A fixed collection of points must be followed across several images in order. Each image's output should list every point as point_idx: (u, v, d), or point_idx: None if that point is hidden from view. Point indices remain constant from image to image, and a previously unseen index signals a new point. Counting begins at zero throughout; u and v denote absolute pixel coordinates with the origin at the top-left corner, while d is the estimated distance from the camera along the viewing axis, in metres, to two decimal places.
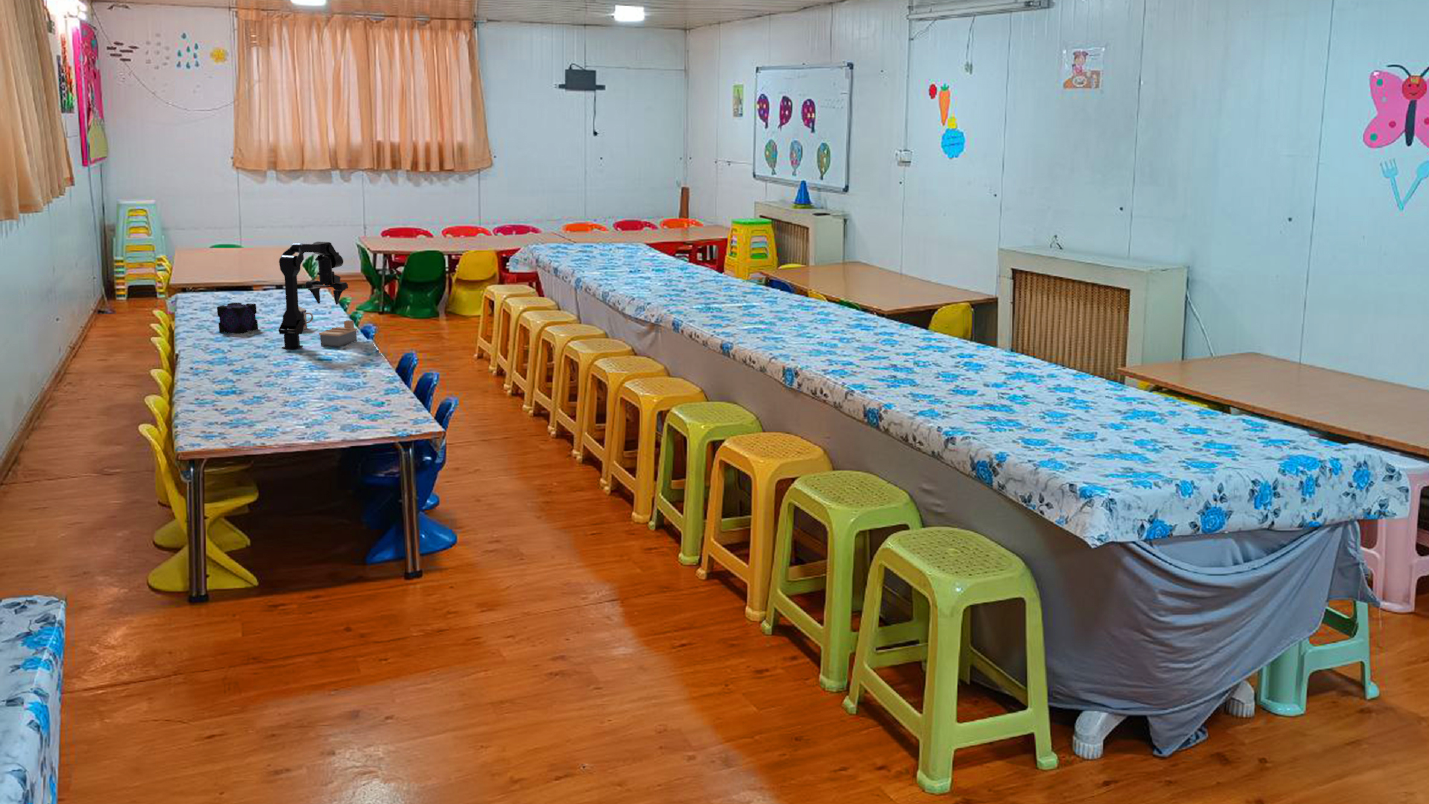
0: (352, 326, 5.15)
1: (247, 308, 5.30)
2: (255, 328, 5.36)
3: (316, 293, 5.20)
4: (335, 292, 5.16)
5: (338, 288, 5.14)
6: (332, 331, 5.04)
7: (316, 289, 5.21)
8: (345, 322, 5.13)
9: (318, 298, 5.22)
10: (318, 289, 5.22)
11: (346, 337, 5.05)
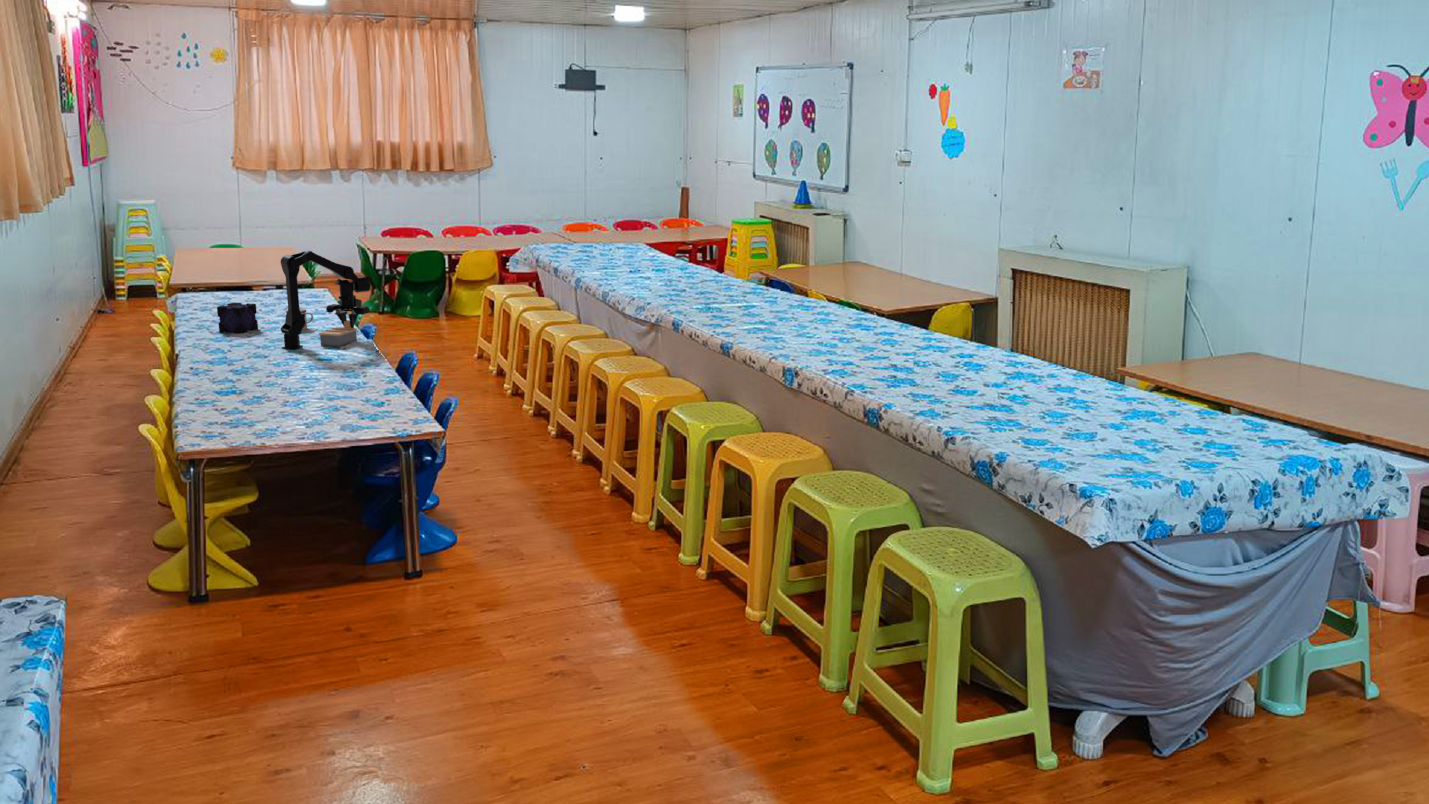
0: None
1: (247, 308, 5.30)
2: (255, 328, 5.36)
3: (343, 318, 5.13)
4: (350, 316, 5.10)
5: (360, 312, 5.08)
6: (332, 331, 5.04)
7: (343, 313, 5.13)
8: (345, 322, 5.13)
9: None
10: (345, 313, 5.15)
11: (346, 337, 5.05)
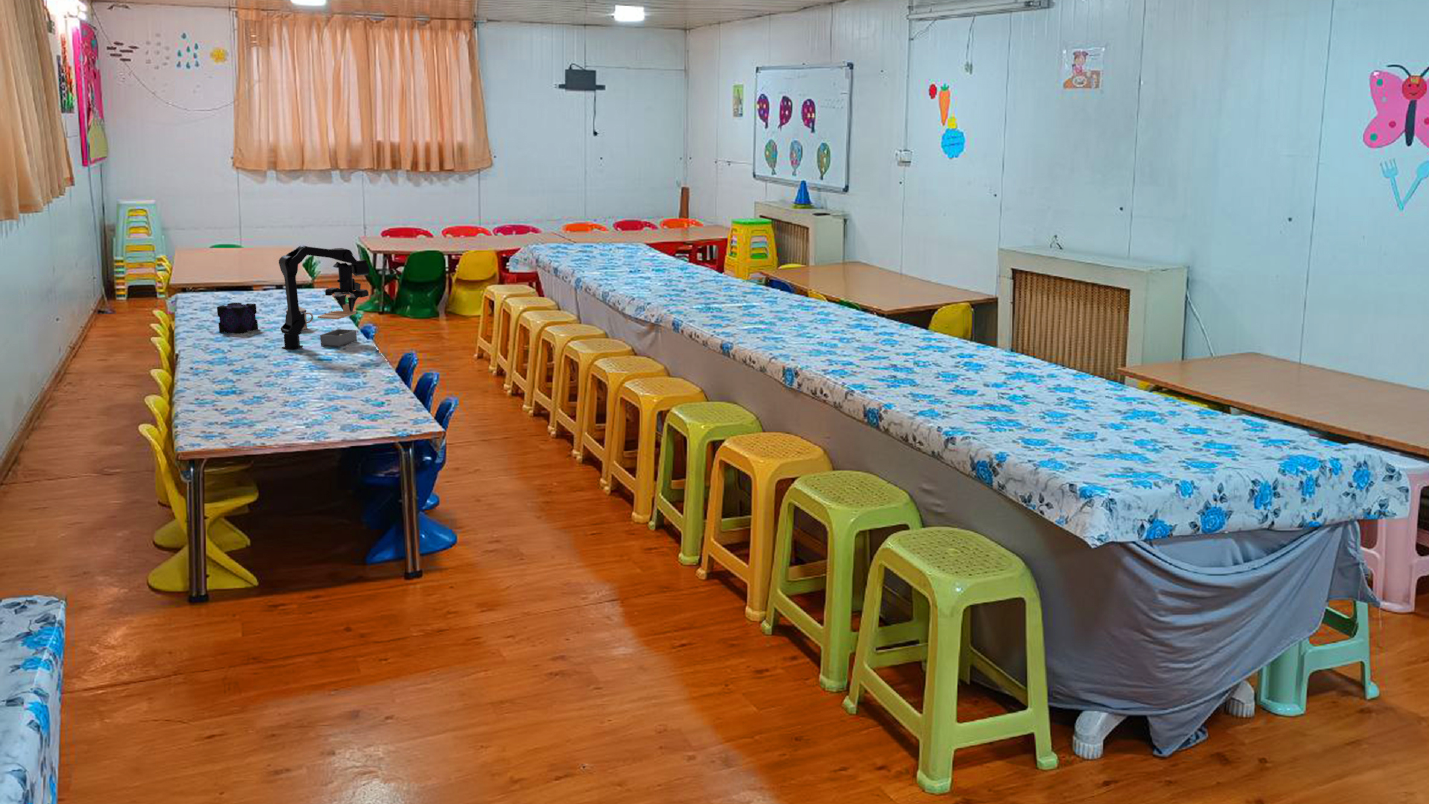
0: None
1: (247, 308, 5.30)
2: (255, 328, 5.36)
3: (342, 301, 5.11)
4: (349, 300, 5.08)
5: (359, 296, 5.06)
6: (331, 314, 5.03)
7: (342, 297, 5.12)
8: (344, 305, 5.11)
9: None
10: (344, 297, 5.13)
11: (346, 337, 5.05)
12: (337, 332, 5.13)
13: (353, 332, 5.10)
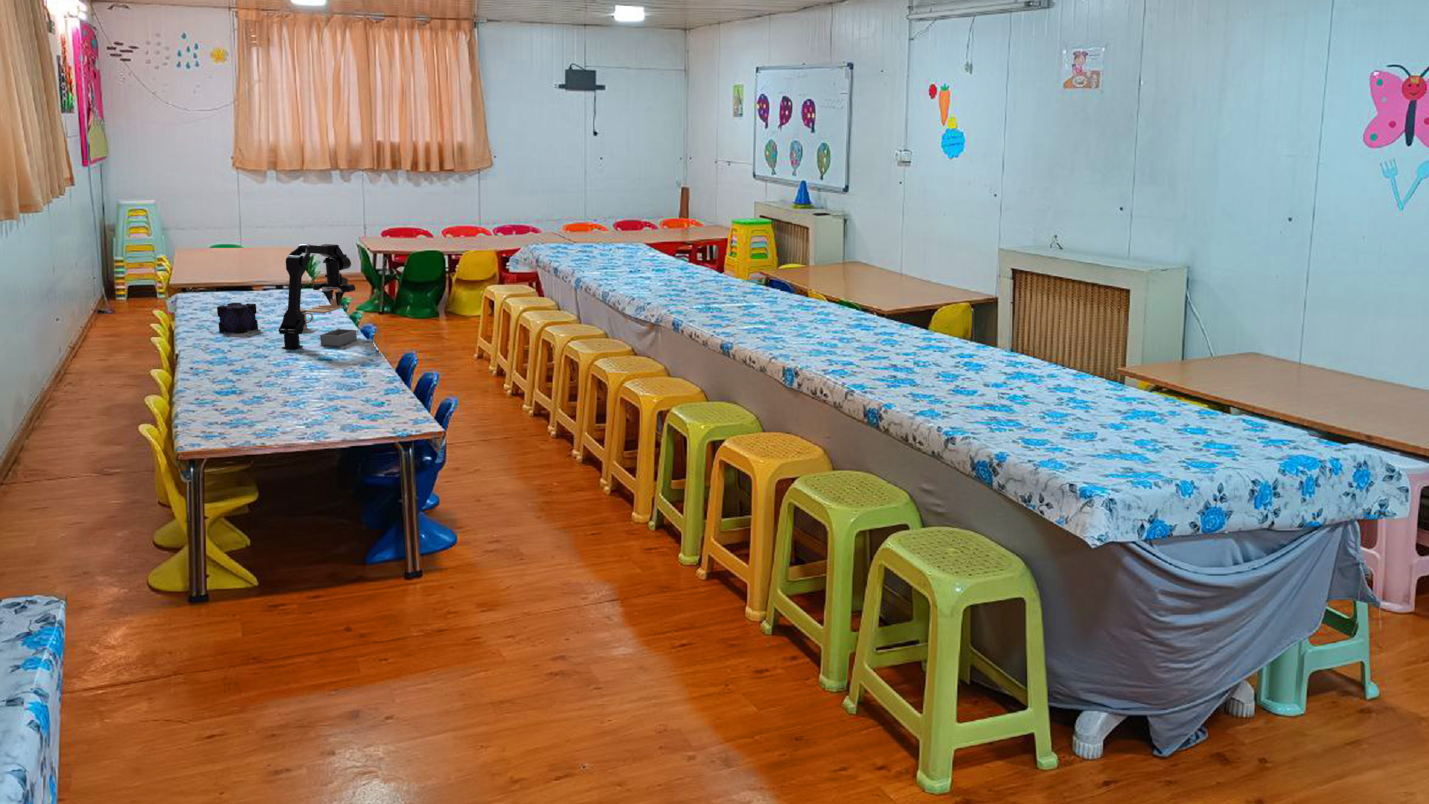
0: None
1: (247, 308, 5.30)
2: (255, 328, 5.36)
3: (329, 295, 5.24)
4: (336, 294, 5.21)
5: (345, 290, 5.19)
6: (318, 308, 5.15)
7: (329, 291, 5.24)
8: (331, 300, 5.24)
9: None
10: (331, 291, 5.25)
11: (346, 337, 5.05)
12: (337, 332, 5.13)
13: (353, 332, 5.10)
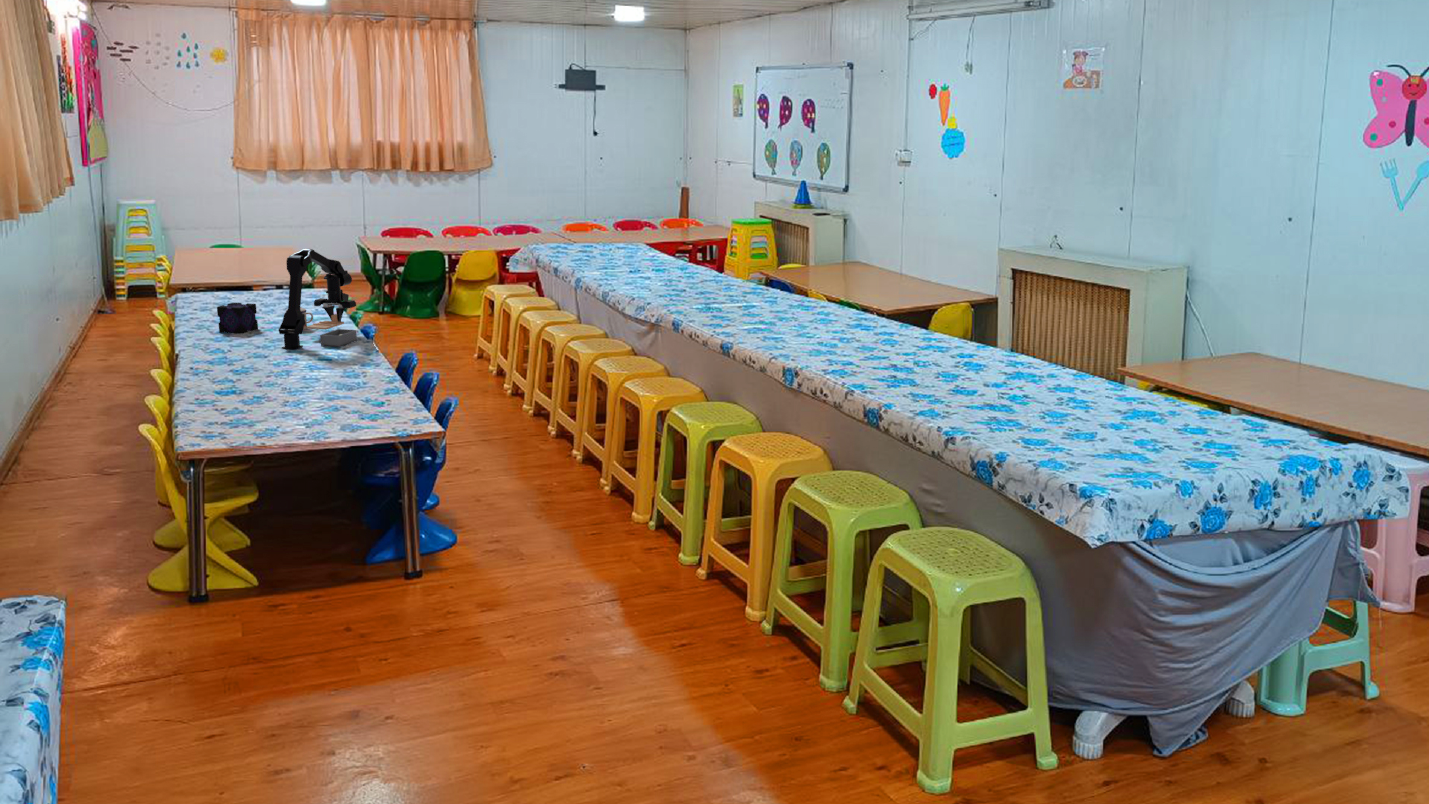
0: None
1: (247, 308, 5.30)
2: (255, 328, 5.36)
3: (330, 311, 5.26)
4: (337, 310, 5.23)
5: (346, 306, 5.20)
6: (319, 324, 5.17)
7: (330, 307, 5.26)
8: (332, 316, 5.26)
9: None
10: (332, 307, 5.27)
11: (346, 337, 5.05)
12: (337, 332, 5.13)
13: (353, 332, 5.10)
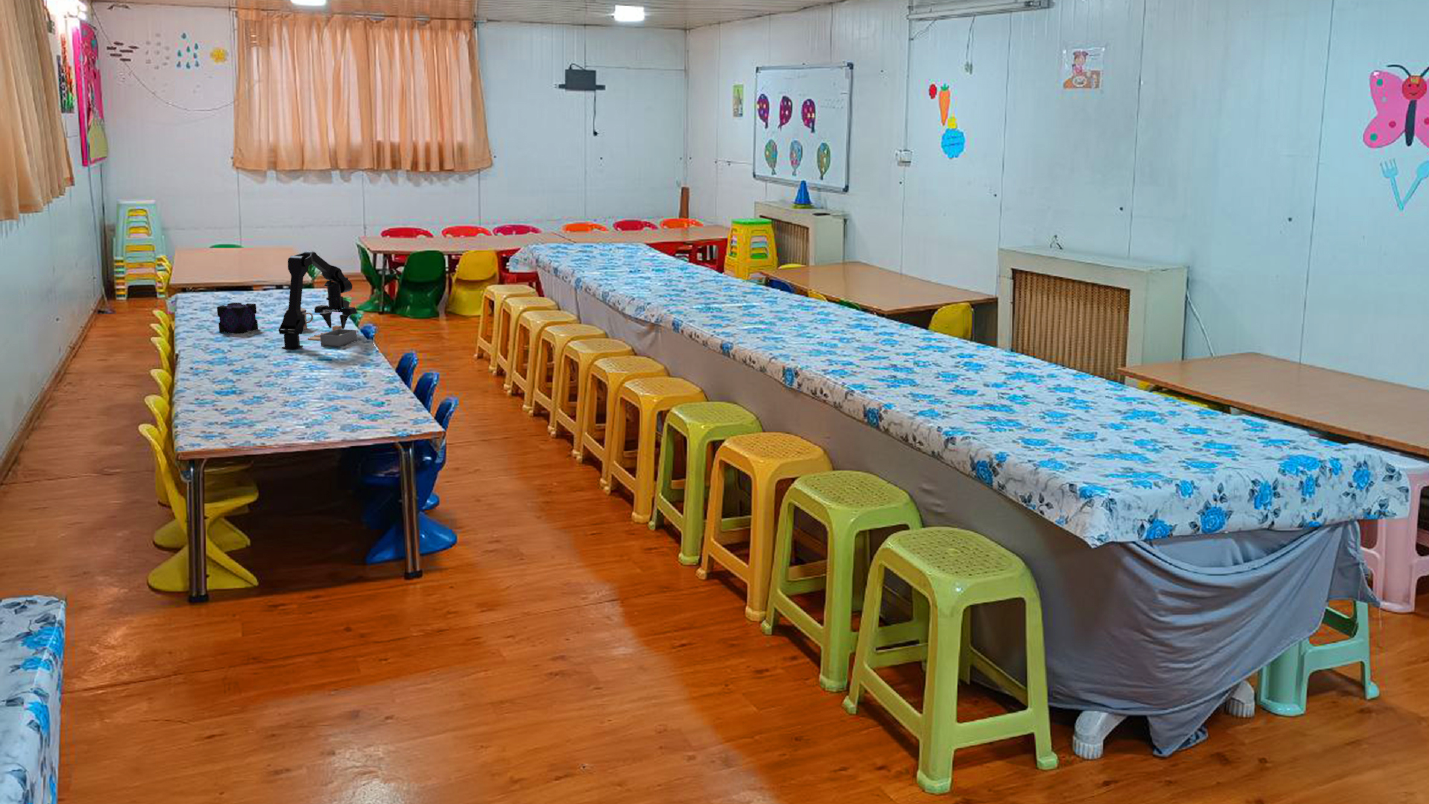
0: None
1: (247, 308, 5.30)
2: (255, 328, 5.36)
3: (328, 318, 5.27)
4: (341, 317, 5.23)
5: (347, 313, 5.21)
6: None
7: (327, 314, 5.27)
8: (333, 327, 5.27)
9: (329, 323, 5.28)
10: (329, 314, 5.29)
11: (346, 337, 5.05)
12: (337, 332, 5.13)
13: (353, 332, 5.10)
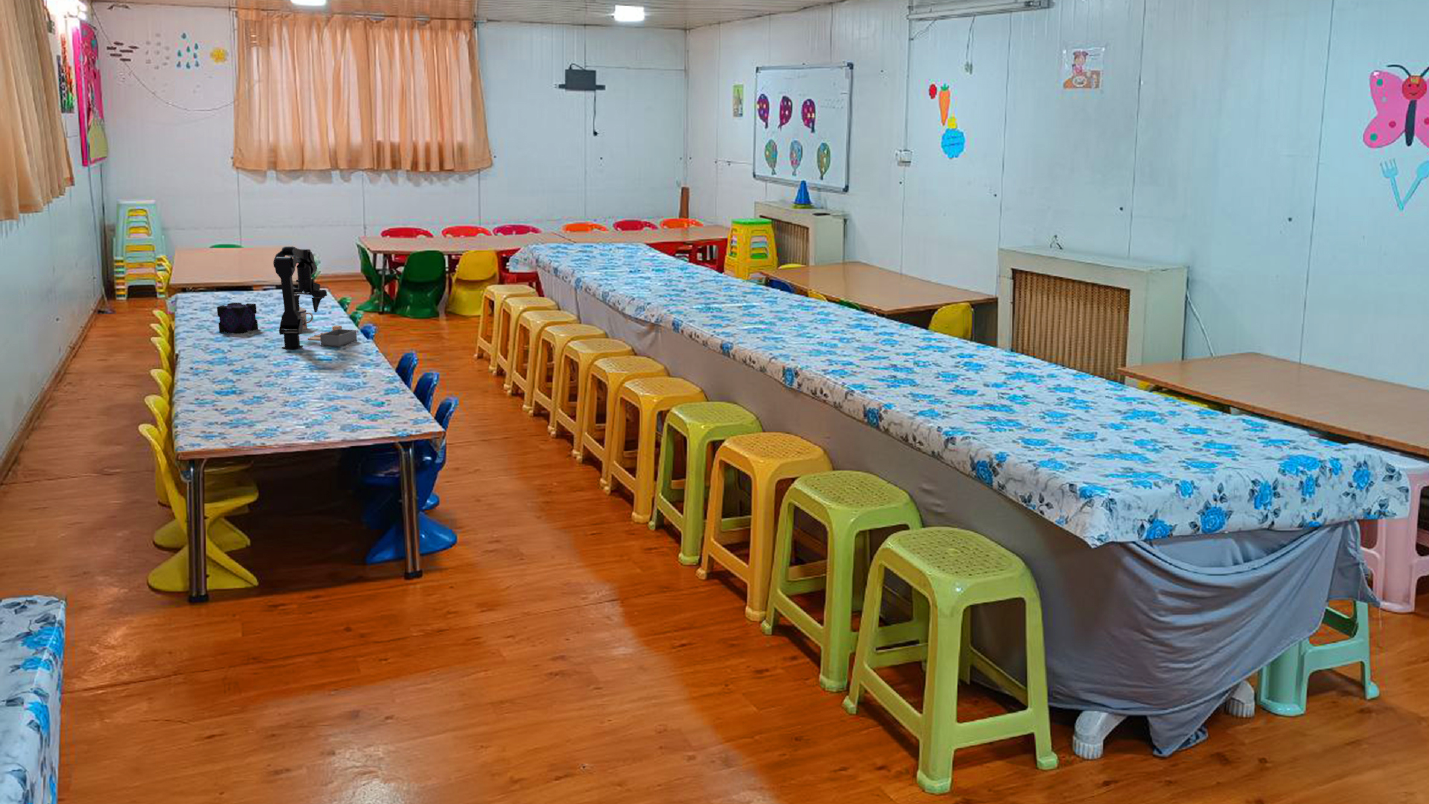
0: None
1: (247, 308, 5.30)
2: (255, 328, 5.36)
3: (295, 301, 5.18)
4: (313, 300, 5.13)
5: (316, 295, 5.12)
6: None
7: (295, 297, 5.18)
8: (333, 327, 5.27)
9: (297, 306, 5.19)
10: (297, 297, 5.20)
11: (346, 337, 5.05)
12: (337, 332, 5.13)
13: (353, 332, 5.10)
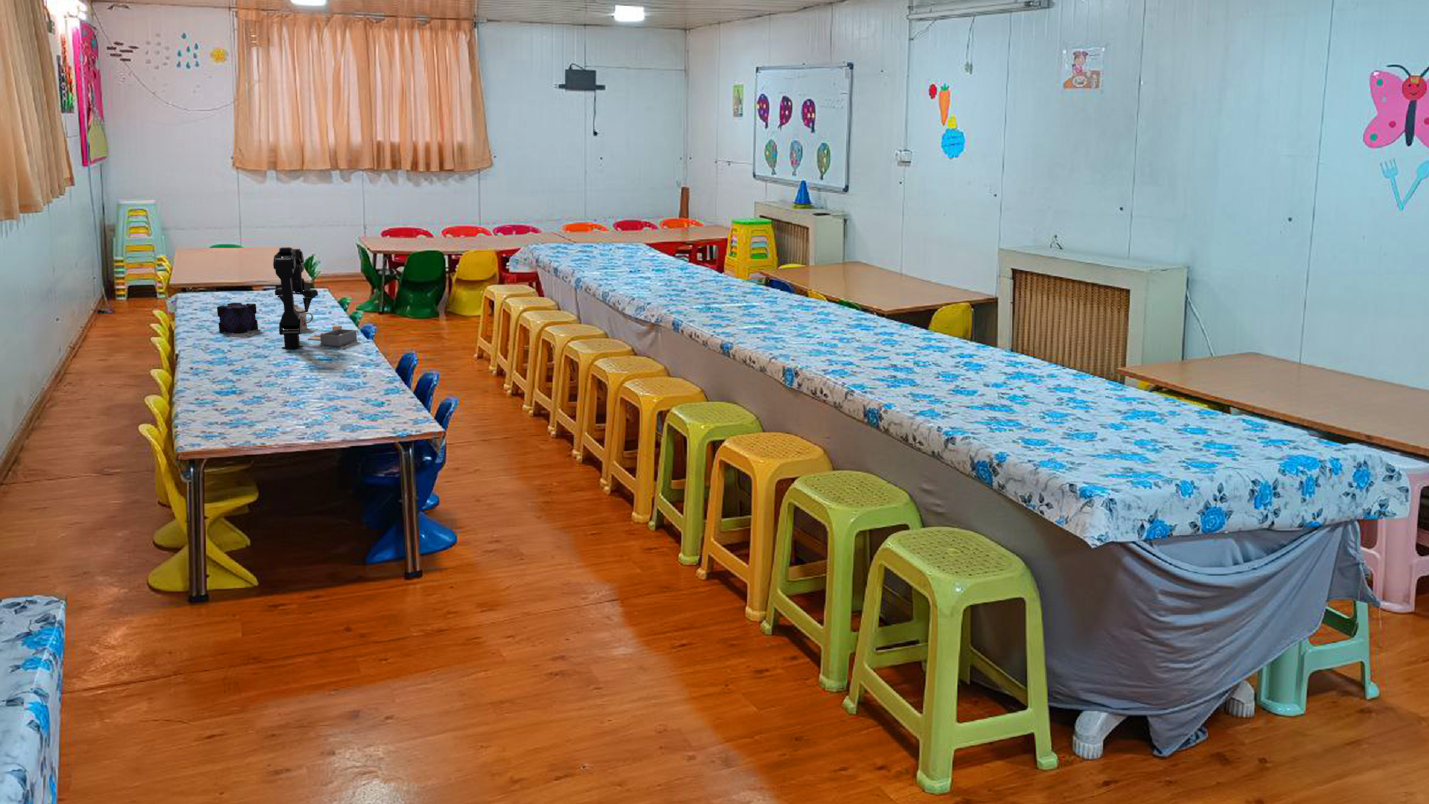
0: None
1: (247, 308, 5.30)
2: (255, 328, 5.36)
3: None
4: (304, 300, 5.11)
5: (308, 295, 5.10)
6: None
7: None
8: (333, 327, 5.27)
9: None
10: None
11: (346, 337, 5.05)
12: (337, 332, 5.13)
13: (353, 332, 5.10)
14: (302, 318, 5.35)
